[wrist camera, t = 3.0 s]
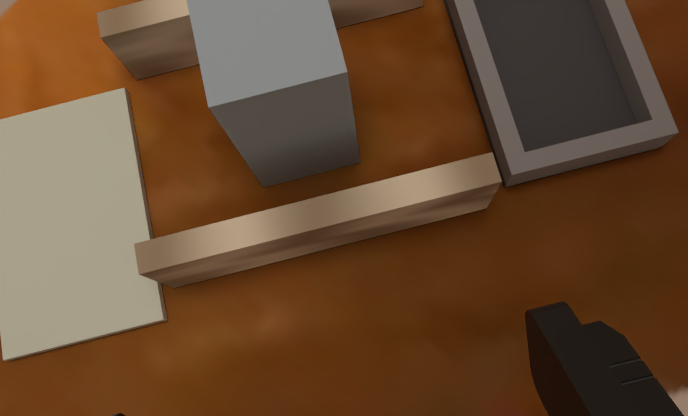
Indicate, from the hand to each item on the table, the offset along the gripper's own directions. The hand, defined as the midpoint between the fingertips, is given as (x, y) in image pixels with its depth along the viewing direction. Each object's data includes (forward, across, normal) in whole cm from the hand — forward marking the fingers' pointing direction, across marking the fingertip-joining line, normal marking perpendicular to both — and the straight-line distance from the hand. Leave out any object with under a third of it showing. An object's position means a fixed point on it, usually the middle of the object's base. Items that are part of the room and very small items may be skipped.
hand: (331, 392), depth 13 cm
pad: (+17, +11, +3) cm, 21 cm away
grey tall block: (+18, 0, +2) cm, 18 cm away
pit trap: (+18, -12, +2) cm, 22 cm away
